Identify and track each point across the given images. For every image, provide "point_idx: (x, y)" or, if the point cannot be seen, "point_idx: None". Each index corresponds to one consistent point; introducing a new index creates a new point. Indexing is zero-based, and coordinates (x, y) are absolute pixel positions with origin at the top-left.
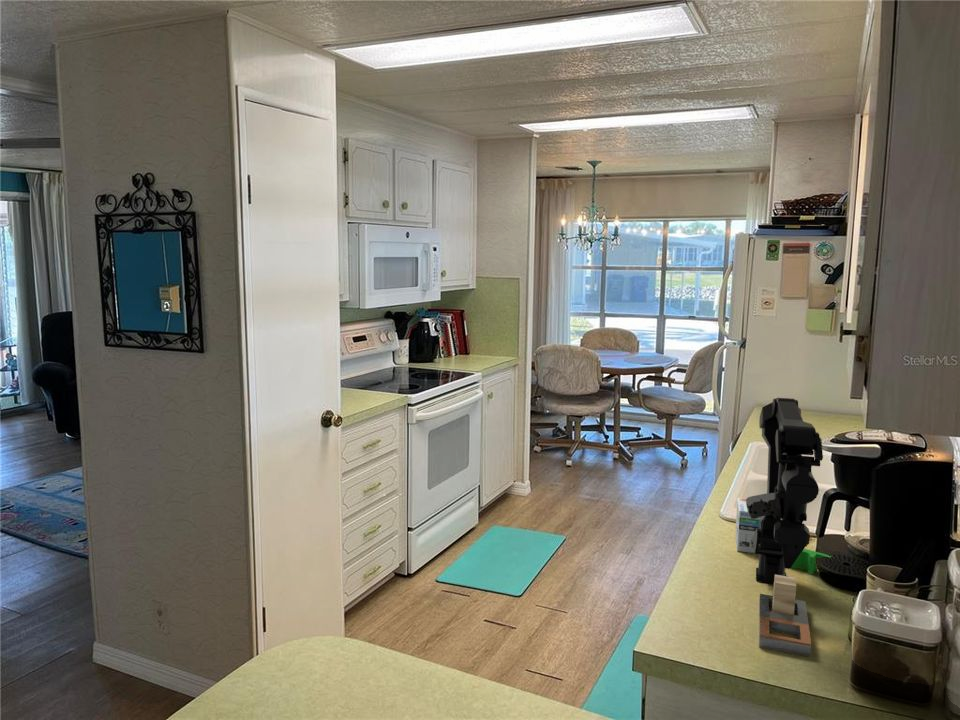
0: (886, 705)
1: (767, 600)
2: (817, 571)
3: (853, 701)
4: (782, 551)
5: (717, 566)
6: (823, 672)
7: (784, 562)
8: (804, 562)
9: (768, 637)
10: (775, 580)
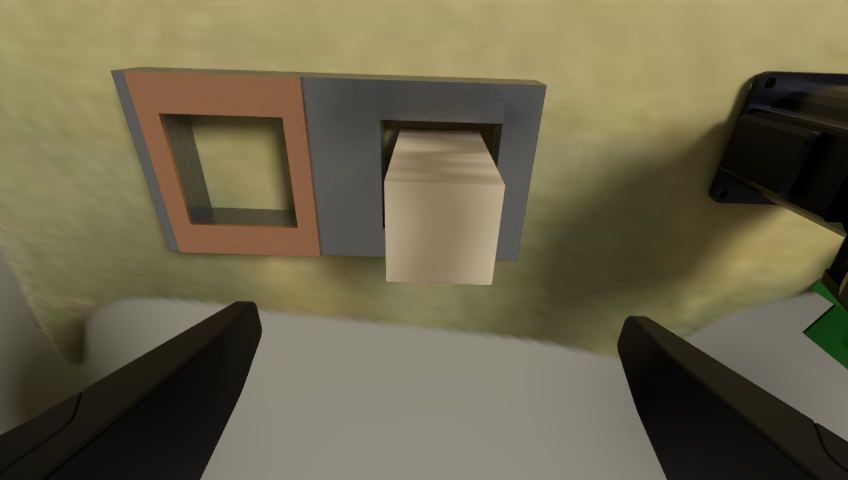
0: (79, 362)
1: (481, 118)
2: (834, 307)
3: (35, 306)
4: (26, 421)
5: None
6: (126, 257)
7: (188, 332)
8: None
9: (135, 108)
10: (415, 185)
